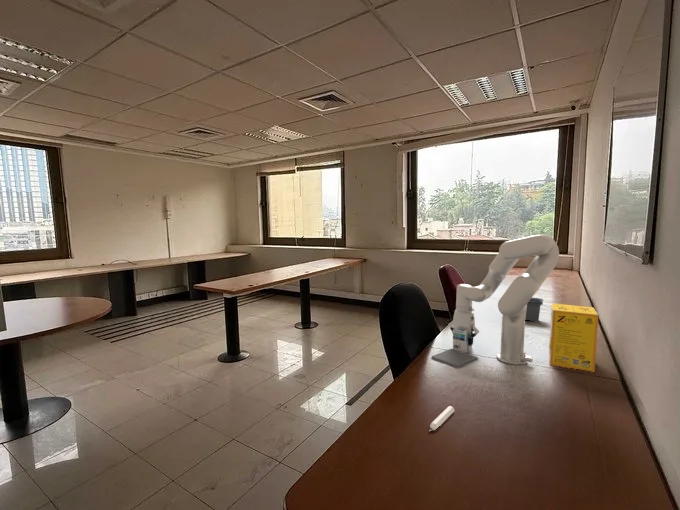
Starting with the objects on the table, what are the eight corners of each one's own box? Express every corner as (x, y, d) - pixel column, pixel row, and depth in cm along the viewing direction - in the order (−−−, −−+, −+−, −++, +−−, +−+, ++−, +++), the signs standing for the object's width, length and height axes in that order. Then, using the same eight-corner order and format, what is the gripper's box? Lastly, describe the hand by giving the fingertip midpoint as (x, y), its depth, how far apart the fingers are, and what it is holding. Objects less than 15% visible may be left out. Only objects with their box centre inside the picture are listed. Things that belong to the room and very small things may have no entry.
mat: (477, 359, 158) (477, 357, 158) (458, 368, 148) (458, 365, 148) (451, 350, 169) (451, 348, 169) (431, 358, 159) (431, 356, 159)
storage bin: (505, 319, 226) (506, 298, 225) (507, 314, 240) (507, 294, 238) (542, 324, 216) (543, 302, 214) (542, 318, 229) (543, 297, 228)
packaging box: (548, 353, 166) (551, 303, 164) (589, 360, 157) (593, 307, 155) (549, 364, 152) (552, 310, 150) (594, 372, 143) (598, 315, 141)
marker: (428, 436, 101) (450, 413, 113) (434, 435, 100) (455, 412, 112) (424, 427, 102) (446, 405, 114) (430, 426, 100) (451, 404, 113)
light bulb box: (465, 353, 165) (466, 331, 164) (452, 350, 170) (452, 329, 169) (472, 347, 174) (473, 326, 173) (459, 344, 178) (460, 324, 177)
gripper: (484, 311, 165) (482, 346, 167) (452, 304, 179) (451, 337, 180) (476, 313, 161) (474, 349, 162) (444, 306, 174) (443, 340, 176)
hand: (462, 342), depth 171 cm, fingers closed on light bulb box, 7 cm apart
